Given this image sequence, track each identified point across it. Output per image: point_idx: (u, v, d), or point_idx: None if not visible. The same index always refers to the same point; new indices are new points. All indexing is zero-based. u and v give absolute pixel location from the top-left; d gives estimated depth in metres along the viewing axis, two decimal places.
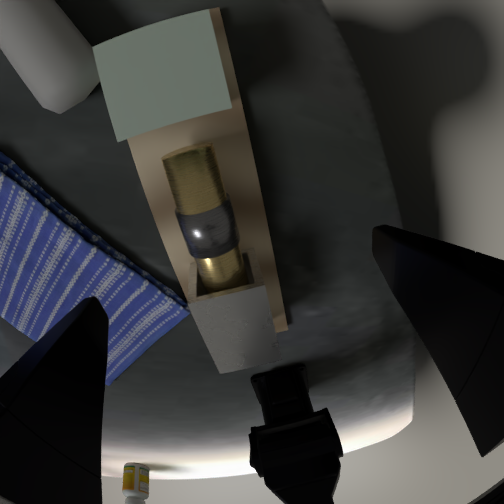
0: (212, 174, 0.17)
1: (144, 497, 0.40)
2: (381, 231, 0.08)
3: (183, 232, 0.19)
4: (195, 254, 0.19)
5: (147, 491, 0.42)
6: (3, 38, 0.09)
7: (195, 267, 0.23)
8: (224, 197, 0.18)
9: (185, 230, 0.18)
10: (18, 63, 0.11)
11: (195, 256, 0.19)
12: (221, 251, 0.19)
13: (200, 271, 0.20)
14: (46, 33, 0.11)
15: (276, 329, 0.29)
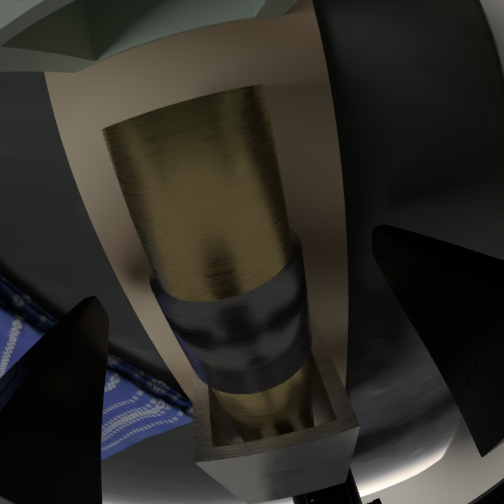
0: (266, 177, 0.05)
1: None
2: (381, 231, 0.08)
3: (175, 334, 0.07)
4: (208, 381, 0.07)
5: None
6: None
7: None
8: (290, 244, 0.06)
9: (180, 334, 0.06)
10: None
11: (208, 384, 0.07)
12: (277, 379, 0.07)
13: (218, 398, 0.08)
14: None
15: None
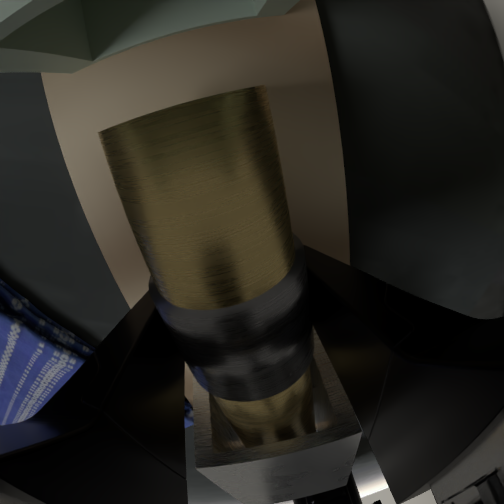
0: (268, 183, 0.05)
1: None
2: None
3: (175, 341, 0.07)
4: (209, 389, 0.07)
5: None
6: None
7: None
8: (293, 251, 0.06)
9: (180, 342, 0.06)
10: None
11: (209, 391, 0.07)
12: (279, 387, 0.07)
13: (219, 404, 0.08)
14: None
15: None
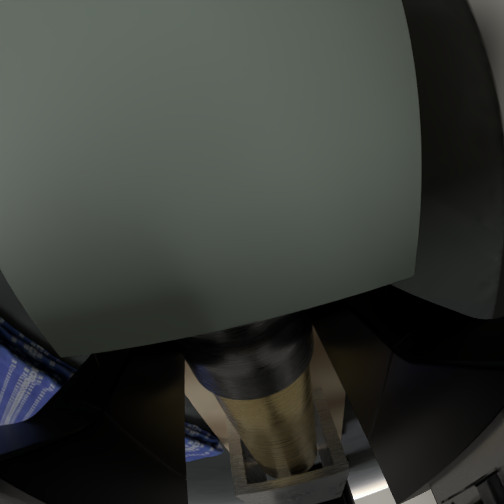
0: None
1: None
2: None
3: (176, 341, 0.07)
4: (209, 387, 0.07)
5: None
6: None
7: None
8: None
9: (181, 341, 0.06)
10: None
11: (209, 389, 0.07)
12: (279, 385, 0.07)
13: (220, 403, 0.08)
14: None
15: None
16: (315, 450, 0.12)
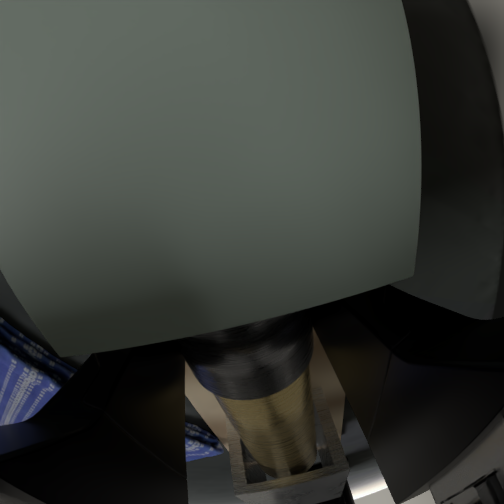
0: None
1: None
2: None
3: (175, 341, 0.07)
4: (209, 387, 0.07)
5: None
6: None
7: None
8: None
9: (180, 341, 0.06)
10: None
11: (209, 389, 0.07)
12: (279, 385, 0.07)
13: (219, 403, 0.08)
14: None
15: None
16: (315, 450, 0.12)
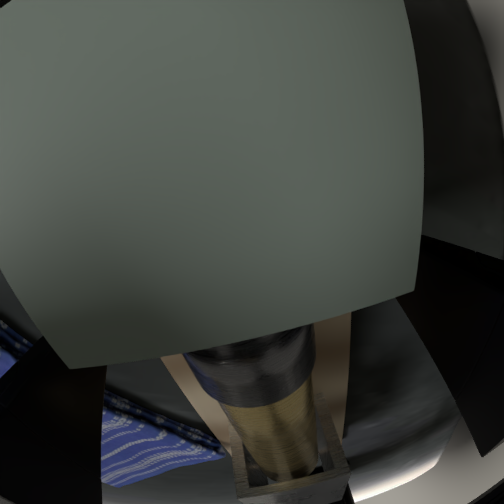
0: None
1: None
2: None
3: None
4: (214, 395, 0.07)
5: None
6: None
7: None
8: None
9: None
10: None
11: (214, 397, 0.07)
12: (282, 393, 0.07)
13: (223, 409, 0.08)
14: None
15: None
16: (316, 454, 0.12)
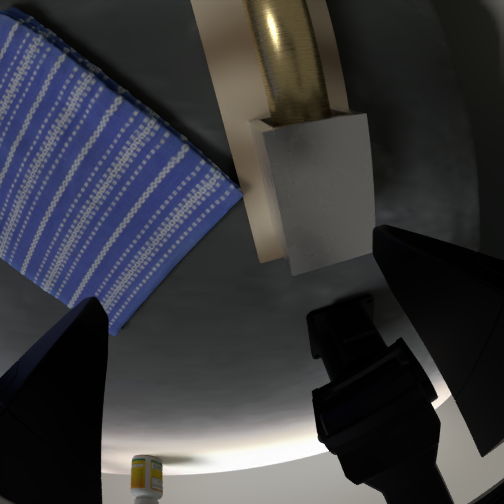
0: None
1: (157, 496, 0.34)
2: (381, 231, 0.08)
3: None
4: None
5: (161, 488, 0.35)
6: None
7: (257, 120, 0.16)
8: None
9: None
10: None
11: None
12: None
13: (253, 10, 0.11)
14: None
15: None
16: None
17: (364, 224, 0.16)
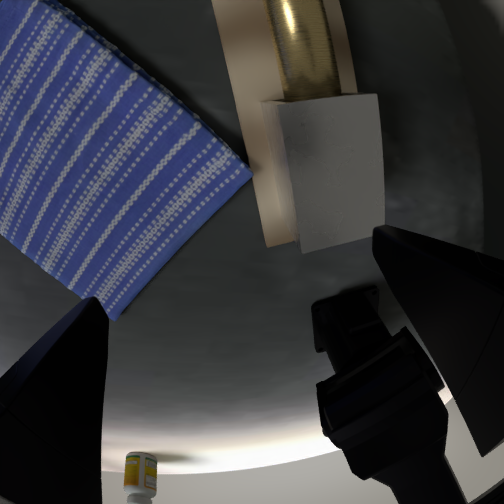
0: None
1: (151, 495, 0.33)
2: (381, 231, 0.08)
3: None
4: None
5: (155, 487, 0.34)
6: None
7: (270, 101, 0.16)
8: None
9: None
10: None
11: None
12: None
13: None
14: None
15: None
16: None
17: (374, 203, 0.16)
